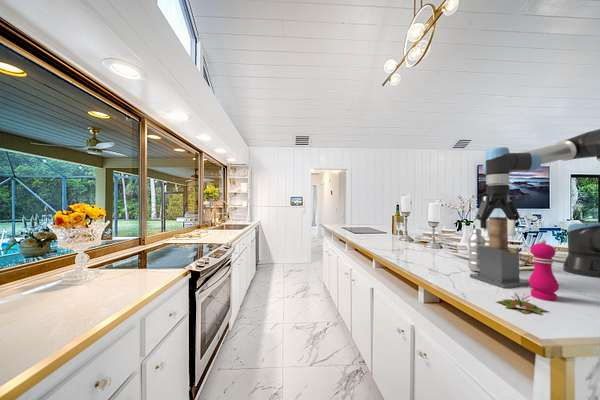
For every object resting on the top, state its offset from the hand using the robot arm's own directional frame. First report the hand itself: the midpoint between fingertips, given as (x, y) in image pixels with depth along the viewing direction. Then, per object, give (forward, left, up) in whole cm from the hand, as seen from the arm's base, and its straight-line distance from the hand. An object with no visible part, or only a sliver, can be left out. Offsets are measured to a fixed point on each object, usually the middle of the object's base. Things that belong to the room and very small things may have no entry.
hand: (498, 236), depth 99 cm
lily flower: (+19, +21, -20) cm, 34 cm away
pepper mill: (+3, +17, -19) cm, 26 cm away
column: (0, 0, -17) cm, 17 cm away
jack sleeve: (0, 0, -19) cm, 19 cm away
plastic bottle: (-5, -14, -19) cm, 24 cm away
